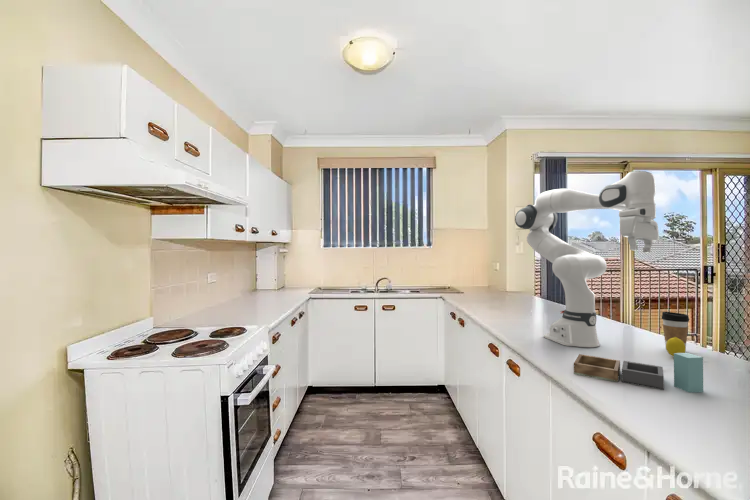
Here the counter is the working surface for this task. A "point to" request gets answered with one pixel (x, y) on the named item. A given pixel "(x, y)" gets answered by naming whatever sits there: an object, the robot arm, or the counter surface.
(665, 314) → the coffee cup
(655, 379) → the box
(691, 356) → the teal block
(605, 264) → the robot arm
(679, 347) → the lemon
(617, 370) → the walled bay
